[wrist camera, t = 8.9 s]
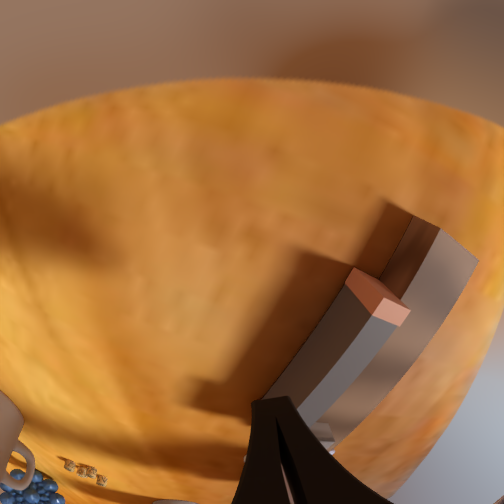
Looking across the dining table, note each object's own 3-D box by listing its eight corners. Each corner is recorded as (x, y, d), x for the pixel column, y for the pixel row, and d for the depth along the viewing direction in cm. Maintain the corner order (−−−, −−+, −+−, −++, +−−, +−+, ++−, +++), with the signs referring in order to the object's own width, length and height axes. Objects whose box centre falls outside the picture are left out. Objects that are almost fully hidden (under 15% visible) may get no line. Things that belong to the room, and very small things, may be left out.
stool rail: (319, 431, 26) (332, 469, 21) (233, 421, 23) (238, 466, 18) (454, 246, 19) (496, 271, 15) (375, 189, 17) (423, 208, 12)
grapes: (10, 460, 26) (-6, 507, 15) (9, 449, 25) (-10, 502, 14) (65, 490, 30) (56, 539, 19) (70, 483, 28) (59, 539, 17)
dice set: (65, 454, 26) (62, 465, 24) (96, 461, 26) (94, 473, 24) (79, 471, 27) (77, 481, 26) (110, 477, 28) (108, 487, 26)
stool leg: (275, 419, 23) (283, 455, 20) (245, 414, 23) (251, 452, 19) (382, 281, 19) (412, 311, 15) (351, 266, 18) (381, 296, 15)
